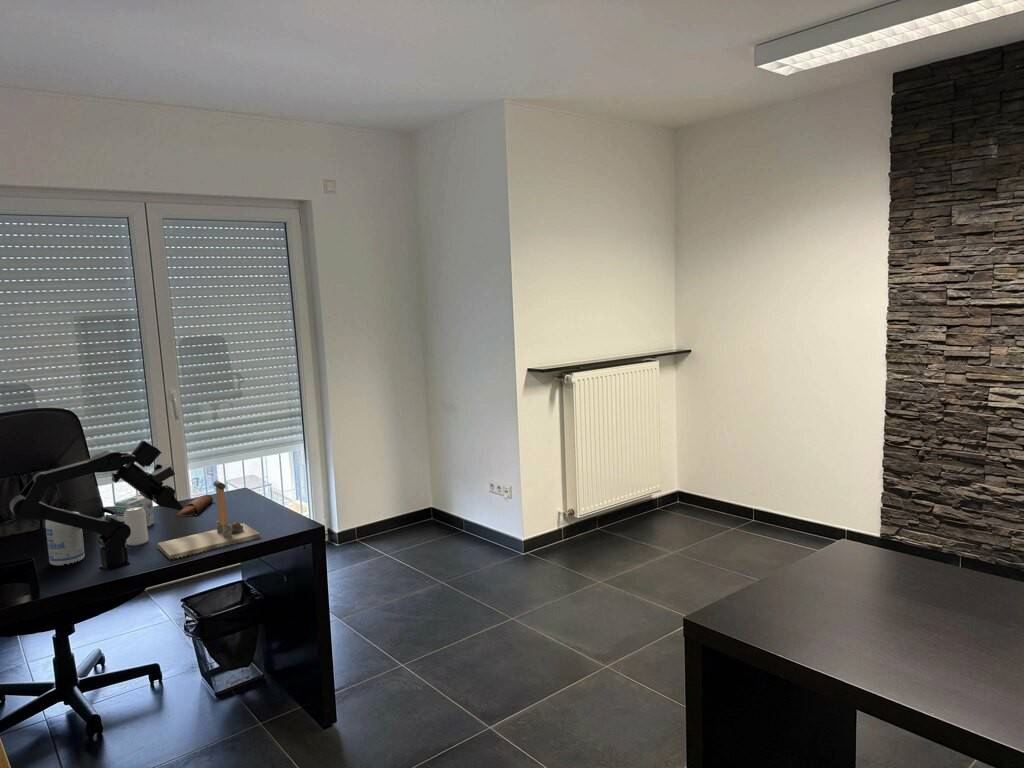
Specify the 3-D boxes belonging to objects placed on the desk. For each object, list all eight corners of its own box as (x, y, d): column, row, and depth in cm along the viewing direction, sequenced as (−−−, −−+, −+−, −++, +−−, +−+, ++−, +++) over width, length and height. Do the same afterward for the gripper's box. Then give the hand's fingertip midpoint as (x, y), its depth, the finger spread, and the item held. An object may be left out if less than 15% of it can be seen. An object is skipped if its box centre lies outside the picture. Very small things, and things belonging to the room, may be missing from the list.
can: (132, 547, 236) (128, 512, 234) (123, 544, 239) (119, 509, 238) (152, 541, 241) (148, 507, 239) (143, 538, 245) (139, 504, 243)
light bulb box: (131, 533, 251) (128, 503, 250) (117, 531, 253) (113, 502, 252) (155, 523, 261) (152, 494, 260) (141, 522, 263) (138, 494, 262)
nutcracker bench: (170, 560, 222) (168, 543, 221) (157, 547, 234) (155, 531, 234) (260, 537, 239) (258, 521, 238) (243, 527, 252) (242, 512, 251)
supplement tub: (43, 567, 221) (37, 521, 219) (60, 556, 230) (55, 512, 228) (75, 565, 221) (69, 519, 219) (91, 554, 231) (86, 510, 229)
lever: (223, 527, 236) (218, 484, 234) (217, 523, 241) (213, 481, 239) (229, 525, 237) (225, 483, 236) (223, 521, 242) (219, 480, 240)
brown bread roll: (191, 503, 286) (198, 488, 285) (207, 511, 287) (215, 496, 286) (174, 517, 268) (182, 501, 267) (192, 525, 269) (200, 509, 268)
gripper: (166, 461, 219) (205, 490, 227) (147, 454, 233) (184, 481, 241) (139, 491, 214) (180, 520, 223) (122, 481, 228) (161, 509, 236)
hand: (177, 506), depth 231 cm, fingers open, 9 cm apart
